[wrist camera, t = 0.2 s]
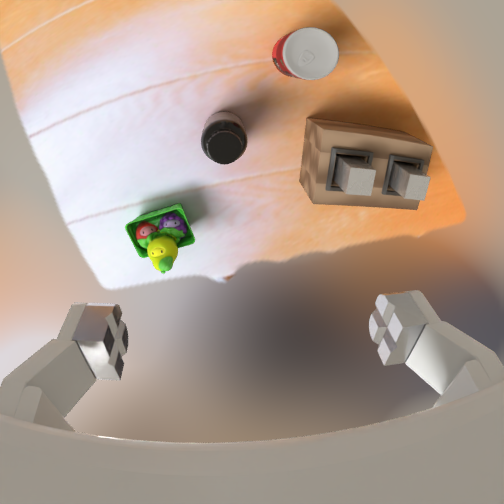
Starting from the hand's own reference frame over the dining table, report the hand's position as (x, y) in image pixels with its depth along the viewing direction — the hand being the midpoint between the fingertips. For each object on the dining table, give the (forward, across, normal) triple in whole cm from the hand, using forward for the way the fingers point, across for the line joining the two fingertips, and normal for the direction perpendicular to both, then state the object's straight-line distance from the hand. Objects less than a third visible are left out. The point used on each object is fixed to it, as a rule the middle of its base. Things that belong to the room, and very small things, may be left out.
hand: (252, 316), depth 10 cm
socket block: (+47, -23, +8) cm, 53 cm away
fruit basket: (+48, +12, +22) cm, 54 cm away
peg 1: (+41, -18, +8) cm, 46 cm away
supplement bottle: (+48, 0, +4) cm, 48 cm away
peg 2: (+41, -28, +8) cm, 51 cm away
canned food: (+48, -11, -10) cm, 50 cm away
